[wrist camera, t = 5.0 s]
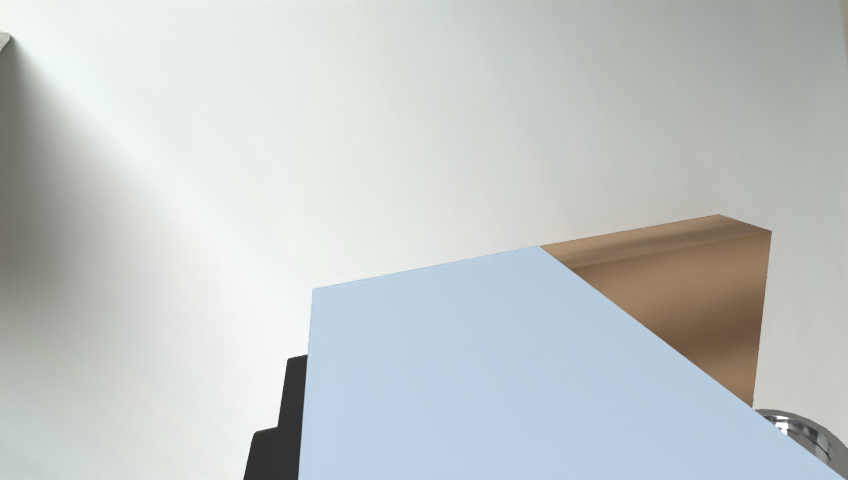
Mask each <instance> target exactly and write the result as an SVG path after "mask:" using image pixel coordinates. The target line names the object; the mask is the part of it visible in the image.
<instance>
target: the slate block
mask: <svg viewBox="0 0 848 480" xmlns="http://www.w3.org/2000/svg"><path fill="white" fill-rule="evenodd" d="M298 480H845V479H844V478H843V477H842V476H840V475H839V474H838V473H836V472H835V471H834V470H832V469H831V468H830V467H828V466H827V465H826V464H824V463H823V462H822V461H821V460H819V459H818V458H817V457H815V456H814V455H813V454H811V453H810V452H809V451H807V450H806V449H805V448H803V447H802V446H801V445H799V444H798V443H797V442H796V441H794V440H793V439H792V438H790V437H789V436H788V435H786V434H785V433H784V432H782V431H781V430H780V429H778V428H777V427H776V426H775V425H773V424H772V423H771V422H769V421H768V420H767V419H765V418H764V417H763V416H761V415H760V414H759V413H757V412H756V411H755V410H754V409H752V408H751V407H750V406H748V405H747V404H746V403H744V402H743V401H742V400H740V399H739V398H738V397H736V396H735V395H734V394H733V393H731V392H730V391H729V390H727V389H726V388H725V387H723V386H722V385H721V384H719V383H718V382H717V381H715V380H714V379H713V378H712V377H710V376H709V375H708V374H706V373H705V372H704V371H702V370H701V369H700V368H698V367H697V366H696V365H694V364H693V363H692V362H691V361H689V360H688V359H687V358H685V357H684V356H683V355H681V354H680V353H679V352H677V351H676V350H675V349H673V348H672V347H671V346H669V345H668V344H667V343H666V342H664V341H663V340H662V339H660V338H659V337H658V336H656V335H655V334H654V333H652V332H651V331H650V330H648V329H647V328H646V327H645V326H643V325H642V324H641V323H639V322H638V321H637V320H635V319H634V318H633V317H631V316H630V315H629V314H627V313H626V312H625V311H624V310H622V309H621V308H620V307H618V306H617V305H616V304H614V303H613V302H612V301H610V300H609V299H608V298H606V297H605V296H604V295H603V294H601V293H600V292H599V291H597V290H596V289H595V288H593V287H592V286H591V285H589V284H588V283H587V282H585V281H584V280H583V279H582V278H580V277H579V276H578V275H576V274H575V273H574V272H572V271H571V270H570V269H568V268H567V267H566V266H564V265H563V264H562V263H561V262H559V261H558V260H557V259H555V258H554V257H553V256H551V255H550V254H549V253H547V252H546V251H545V250H543V249H542V248H541V247H540V246H535V247H529V248H524V249H519V250H514V251H508V252H503V253H498V254H493V255H488V256H482V257H477V258H472V259H467V260H461V261H456V262H451V263H446V264H441V265H435V266H430V267H425V268H420V269H414V270H409V271H404V272H399V273H394V274H388V275H383V276H378V277H373V278H367V279H362V280H357V281H352V282H347V283H341V284H336V285H331V286H326V287H320V288H315V289H313V293H312V306H311V319H310V332H309V346H308V359H307V372H306V385H305V398H304V411H303V424H302V437H301V450H300V463H299V477H298Z"/></svg>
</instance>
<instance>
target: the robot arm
mask: <svg viewBox="0 0 848 480" xmlns="http://www.w3.org/2000/svg"><path fill="white" fill-rule="evenodd" d="M307 359H308V354H307V355H303V356H298V357H293V358H289V359H288V360H287V366H286V373H285V380H284V387H283V393H282V400H281V407H280V413H279V420H278V427H274V428H270V429H266V430H261V431H257V432H255V433H254V435H253V438H252V442H251V447H250V452H249V456H248V461H247V465H246V470H245V475H244V479H243V480H298V477H299V463H300V450H301V437H302V424H303V411H304V398H305V385H306V372H307ZM755 411H756V412H757V413H759V414H760V415H761V416H763V417H764V418H765V419H767V420H768V421H769V422H771V423H772V424H773V425H775V426H776V427H777V428H778V429H780V430H781V431H782V432H784V433H785V434H786V435H788V436H789V437H790V438H792V439H793V440H794V441H796V442H797V443H798V444H799V445H801V446H802V447H803V448H805V449H806V450H807V451H809V452H810V453H811V454H813V455H814V456H815V457H817V458H818V459H819V460H821V461H822V462H823V463H824V464H826V465H827V466H828V467H830V468H831V469H832V470H834V471H835V472H836V473H838V474H839V475H840V476H842V477H843V478H844V479H845V480H848V448H847V447H846V446H845V445H844V444H843V443H842V442H841V441H840V440H839V439H838V438H837V437H836V436H834V435H833V434H832V433H831V432H830V431H828V430H827V429H826V428H824V427H822V426H821V425H819V424H817V423H815V422H813V421H811V420H810V419H807V418H804V417H801V416H799V415H796V414H793V413H788V412H784V411H779V410H767V409H759V410H755Z"/></svg>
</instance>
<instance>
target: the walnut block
mask: <svg viewBox="0 0 848 480" xmlns="http://www.w3.org/2000/svg"><path fill="white" fill-rule="evenodd" d="M771 233H772V231H769V230H766V229H763V228H760V227H757V226H754V225H751V224H747V223H744V222H741V221H738V220H735V219H732V218H729V217H725V216H722V215H719V214H718V215H712V216H707V217H701V218H696V219H690V220H684V221H679V222H673V223H667V224H662V225H656V226H650V227H645V228H639V229H634V230H628V231H622V232H617V233H611V234H605V235H600V236H594V237H588V238H583V239H577V240H572V241H566V242H560V243H555V244H549V245H543V246H540V247H541V248H542V249H543V250H545V251H546V252H547V253H549V254H550V255H551V256H553V257H554V258H555V259H557V260H558V261H559V262H561V263H562V264H563V265H564V266H566V267H567V268H568V269H570V270H571V271H572V272H574V273H575V274H576V275H578V276H579V277H580V278H582V279H583V280H584V281H585V282H587V283H588V284H589V285H591V286H592V287H593V288H595V289H596V290H597V291H599V292H600V293H601V294H603V295H604V296H605V297H606V298H608V299H609V300H610V301H612V302H613V303H614V304H616V305H617V306H618V307H620V308H621V309H622V310H624V311H625V312H626V313H627V314H629V315H630V316H631V317H633V318H634V319H635V320H637V321H638V322H639V323H641V324H642V325H643V326H645V327H646V328H647V329H648V330H650V331H651V332H652V333H654V334H655V335H656V336H658V337H659V338H660V339H662V340H663V341H664V342H666V343H667V344H668V345H669V346H671V347H672V348H673V349H675V350H676V351H677V352H679V353H680V354H681V355H683V356H684V357H685V358H687V359H688V360H689V361H691V362H692V363H693V364H694V365H696V366H697V367H698V368H700V369H701V370H702V371H704V372H705V373H706V374H708V375H709V376H710V377H712V378H713V379H714V380H715V381H717V382H718V383H719V384H721V385H722V386H723V387H725V388H726V389H727V390H729V391H730V392H731V393H733V394H734V395H735V396H736V397H738V398H739V399H740V400H742V401H743V402H744V403H746V404H747V405H748V406H750V407H751V408H752V404H753V395H754V386H755V377H756V368H757V359H758V350H759V341H760V332H761V323H762V314H763V305H764V296H765V287H766V278H767V269H768V260H769V251H770V242H771Z"/></svg>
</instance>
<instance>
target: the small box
mask: <svg viewBox="0 0 848 480" xmlns="http://www.w3.org/2000/svg"><path fill="white" fill-rule="evenodd" d="M9 39H10V34H9V33H8V32H7V31H5V30H4V29H3V28H1V27H0V52H1V50H2V49H3V47H4V46H5V45H6V43H7V42H8V41H9Z"/></svg>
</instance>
